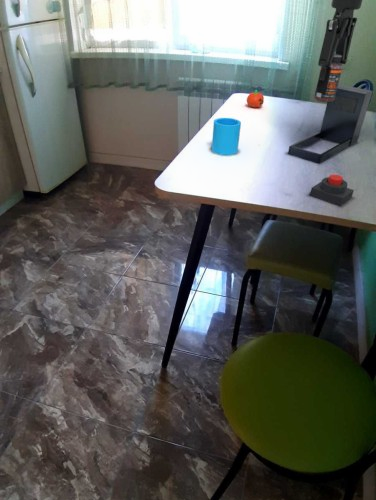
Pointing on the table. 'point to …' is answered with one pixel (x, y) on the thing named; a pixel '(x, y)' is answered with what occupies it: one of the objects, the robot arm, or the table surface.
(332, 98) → the supplement bottle
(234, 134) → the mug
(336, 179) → the button
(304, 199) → the table surface
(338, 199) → the control block
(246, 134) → the table surface
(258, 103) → the pumpkin
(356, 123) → the dark l-shaped stand
